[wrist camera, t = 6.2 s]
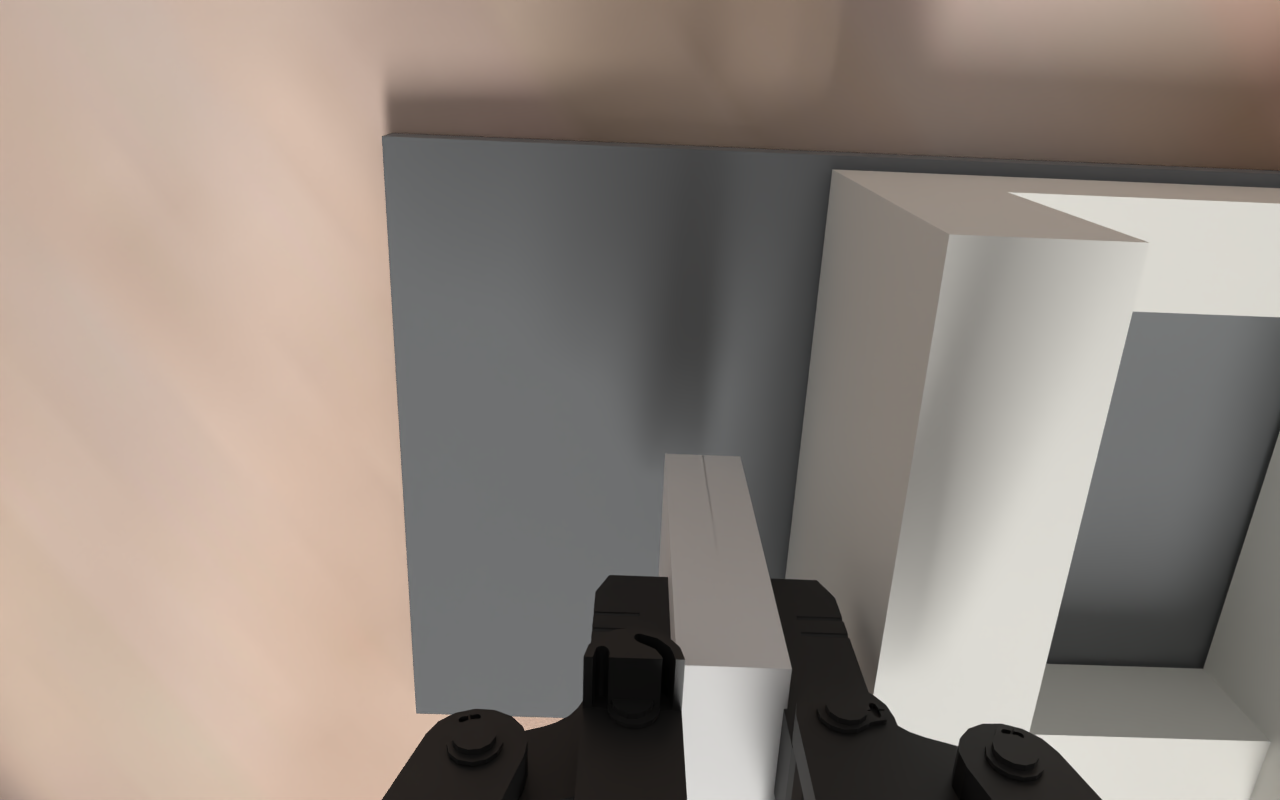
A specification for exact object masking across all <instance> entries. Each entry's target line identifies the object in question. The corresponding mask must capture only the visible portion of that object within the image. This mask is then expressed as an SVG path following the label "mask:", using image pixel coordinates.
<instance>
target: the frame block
mask: <svg viewBox="0 0 1280 800" xmlns="http://www.w3.org/2000/svg"><path fill="white" fill-rule="evenodd" d="M1133 312H1158V313H1183V314H1208V315H1234V316H1259V317H1280V188H1262V187H1239V186H1215V185H1191V184H1167V183H1144V182H1120V181H1096V180H1072V179H1049V178H1025V177H1001V176H977V175H954V174H930V173H906V172H882V171H859V170H835V169H832V177H831V185H830V194H829V203H828V211H827V220H826V229H825V237H824V246H823V255H822V263H821V272H820V281H819V289H818V298H817V307H816V315H815V324H814V333H813V341H812V350H811V359H810V367H809V376H808V385H807V393H806V402H805V411H804V419H803V428H802V437H801V445H800V454H799V463H798V471H797V480H796V489H795V497H794V506H793V515H792V523H791V532H790V541H789V549H788V558H787V567H786V575H785V579H800V580H817V581H818V582H819V583H820V584H821V585H822V586H823V587H824V588H825V589H826V590H828V591H829V592H830V593H831V594H832V595H833V596H834V597H835V599H836V602H837V604H838V607H839V610H840V613H841V616H842V621H843V622H844V624H845V627H846V630H847V633H848V638H850V641H851V644H852V647H853V649H854V652H855V655H856V658H857V661H858V664H859V666H860V669H861V672H862V675H863V678H864V680H865V683H866V686H867V689H868V692H869V693H871V694H873V695H874V696H875V697H877V698H878V699H879V700H881V701H882V702H883V703H884V704H886V705H887V707H888V708H889V710H890V711H891V713H892V714H893V716H894V717H895V720H896V723H897V725H898V726H900V727H901V728H903V729H905V730H907V731H909V732H911V733H914V734H917V735H920V736H923V737H926V738H930V739H933V740H937V741H941V742H945V743H948V744H952V745H956V746H958V744H959V739H960V738H961V736H962V735H963V734H964V733H965V732H966V731H967V729H969V728H971V727H974V726H977V725H980V724H1005V725H1009V726H1013V727H1017V728H1021V729H1024V730H1026V731H1028V732H1030V733H1032V734H1034V735H1036V736H1038V737H1040V738H1042V739H1043V740H1044V741H1046V742H1047V743H1048V744H1049V745H1050V746H1052V747H1053V748H1054V749H1055V750H1057V751H1058V752H1059V753H1060V754H1061V755H1062V756H1063V758H1064V759H1065V760H1066V761H1067V762H1068V763H1069V764H1070V765H1071V766H1072V767H1073V768H1074V770H1075V771H1076V772H1077V773H1078V774H1079V775H1080V776H1081V777H1082V778H1083V779H1084V780H1085V782H1086V783H1087V784H1088V785H1089V786H1090V787H1091V788H1092V789H1093V790H1094V791H1095V792H1096V793H1097V795H1098V796H1099V797H1100V798H1101V799H1102V800H1280V432H1279V435H1278V438H1277V441H1276V445H1275V448H1274V451H1273V454H1272V457H1271V460H1270V463H1269V466H1268V469H1267V472H1266V476H1265V479H1264V482H1263V485H1262V488H1261V491H1260V494H1259V497H1258V500H1257V503H1256V507H1255V510H1254V513H1253V516H1252V519H1251V522H1250V525H1249V528H1248V531H1247V534H1246V538H1245V541H1244V544H1243V547H1242V550H1241V553H1240V556H1239V559H1238V562H1237V565H1236V568H1235V572H1234V575H1233V578H1232V581H1231V584H1230V587H1229V590H1228V593H1227V596H1226V599H1225V603H1224V606H1223V609H1222V612H1221V615H1220V618H1219V621H1218V624H1217V627H1216V630H1215V634H1214V637H1213V640H1212V643H1211V646H1210V649H1209V652H1208V655H1207V658H1206V661H1205V665H1204V668H1203V669H1197V668H1165V667H1134V666H1102V665H1070V664H1046V662H1047V658H1048V654H1049V650H1050V646H1051V642H1052V638H1053V634H1054V630H1055V625H1056V621H1057V617H1058V613H1059V609H1060V605H1061V601H1062V597H1063V593H1064V589H1065V585H1066V581H1067V577H1068V573H1069V569H1070V565H1071V560H1072V556H1073V552H1074V548H1075V544H1076V540H1077V536H1078V532H1079V528H1080V524H1081V520H1082V516H1083V512H1084V508H1085V504H1086V500H1087V495H1088V491H1089V487H1090V483H1091V479H1092V475H1093V471H1094V467H1095V463H1096V459H1097V455H1098V451H1099V447H1100V443H1101V439H1102V435H1103V430H1104V426H1105V422H1106V418H1107V414H1108V410H1109V406H1110V402H1111V398H1112V394H1113V390H1114V386H1115V382H1116V378H1117V374H1118V370H1119V365H1120V361H1121V357H1122V353H1123V349H1124V345H1125V341H1126V337H1127V333H1128V329H1129V325H1130V321H1131V317H1132V313H1133Z"/></svg>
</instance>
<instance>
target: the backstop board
mask: <svg viewBox="0 0 1280 800" xmlns="http://www.w3.org/2000/svg"><path fill="white" fill-rule="evenodd" d="M382 146H383V163H384V179H385V196H386V213H387V230H388V246H389V263H390V280H391V297H392V314H393V330H394V347H395V364H396V381H397V397H398V414H399V431H400V448H401V465H402V481H403V498H404V515H405V532H406V548H407V565H408V582H409V599H410V616H411V632H412V649H413V666H414V683H415V699H416V713H420V714H454V713H457V712H461V711H466V710H471V709H489V710H497V711H499V712H502V713H505V714H507V715H510V716H520V717H553V718H566V717H568V716H569V715H570V714H571V713H572V712H574V711H575V710H576V709H577V708H578V707H579V705H580V704H581V702H582V701H583V658H584V654H585V652H586V649H587V647H588V645H589V644H590V643H591V635H592V624H593V615H594V602H595V592H596V590H597V589H598V588H599V587H600V585H601V584H602V583H603V582H604V581H605V579H606V578H607V577H608V576H609V575H626V576H655V577H659V560H660V542H661V523H662V504H663V485H664V467H665V454H689V455H716V456H740V458H741V462H742V466H743V470H744V474H745V478H746V482H747V486H748V490H749V495H750V499H751V503H752V507H753V511H754V515H755V519H756V523H757V527H758V532H759V536H760V540H761V544H762V548H763V552H764V556H765V560H766V564H767V569H768V573H769V577H770V578H772V579H785V575H786V567H787V558H788V549H789V541H790V532H791V523H792V515H793V506H794V497H795V489H796V480H797V471H798V463H799V454H800V445H801V437H802V428H803V419H804V411H805V402H806V393H807V385H808V376H809V367H810V359H811V350H812V341H813V333H814V324H815V315H816V307H817V298H818V289H819V281H820V272H821V263H822V255H823V246H824V237H825V229H826V220H827V211H828V203H829V194H830V185H831V177H832V169H835V170H859V171H882V172H906V173H930V174H954V175H977V176H1001V177H1025V178H1049V179H1072V180H1096V181H1120V182H1144V183H1167V184H1191V185H1215V186H1239V187H1262V188H1280V171H1273V170H1250V169H1226V168H1203V167H1179V166H1156V165H1132V164H1109V163H1085V162H1062V161H1038V160H1014V159H991V158H967V157H944V156H920V155H897V154H873V153H850V152H826V151H803V150H779V149H756V148H732V147H709V146H685V145H661V144H638V143H614V142H591V141H567V140H544V139H520V138H497V137H473V136H450V135H426V134H403V133H391V134H388V135H384V136H382ZM1279 432H1280V317H1259V316H1234V315H1208V314H1183V313H1158V312H1133V313H1132V317H1131V321H1130V325H1129V329H1128V333H1127V337H1126V341H1125V345H1124V349H1123V353H1122V357H1121V361H1120V365H1119V370H1118V374H1117V378H1116V382H1115V386H1114V390H1113V394H1112V398H1111V402H1110V406H1109V410H1108V414H1107V418H1106V422H1105V426H1104V430H1103V435H1102V439H1101V443H1100V447H1099V451H1098V455H1097V459H1096V463H1095V467H1094V471H1093V475H1092V479H1091V483H1090V487H1089V491H1088V495H1087V500H1086V504H1085V508H1084V512H1083V516H1082V520H1081V524H1080V528H1079V532H1078V536H1077V540H1076V544H1075V548H1074V552H1073V556H1072V560H1071V565H1070V569H1069V573H1068V577H1067V581H1066V585H1065V589H1064V593H1063V597H1062V601H1061V605H1060V609H1059V613H1058V617H1057V621H1056V625H1055V630H1054V634H1053V638H1052V642H1051V646H1050V650H1049V654H1048V658H1047V662H1046V664H1070V665H1102V666H1134V667H1165V668H1197V669H1203V668H1204V665H1205V661H1206V658H1207V655H1208V652H1209V649H1210V646H1211V643H1212V640H1213V637H1214V634H1215V630H1216V627H1217V624H1218V621H1219V618H1220V615H1221V612H1222V609H1223V606H1224V603H1225V599H1226V596H1227V593H1228V590H1229V587H1230V584H1231V581H1232V578H1233V575H1234V572H1235V568H1236V565H1237V562H1238V559H1239V556H1240V553H1241V550H1242V547H1243V544H1244V541H1245V538H1246V534H1247V531H1248V528H1249V525H1250V522H1251V519H1252V516H1253V513H1254V510H1255V507H1256V503H1257V500H1258V497H1259V494H1260V491H1261V488H1262V485H1263V482H1264V479H1265V476H1266V472H1267V469H1268V466H1269V463H1270V460H1271V457H1272V454H1273V451H1274V448H1275V445H1276V441H1277V438H1278V435H1279Z"/></svg>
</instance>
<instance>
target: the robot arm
mask: <svg viewBox="0 0 1280 800" xmlns="http://www.w3.org/2000/svg"><path fill="white" fill-rule="evenodd" d="M382 800H1102V799H1101V798H1100V797H1099V796H1098V795H1097V793H1096V792H1095V791H1094V790H1093V789H1092V788H1091V787H1090V786H1089V785H1088V784H1087V783H1086V782H1085V780H1084V779H1083V778H1082V777H1081V776H1080V775H1079V774H1078V773H1077V772H1076V771H1075V770H1074V768H1073V767H1072V766H1071V765H1070V764H1069V763H1068V762H1067V761H1066V760H1065V759H1064V758H1063V756H1062V755H1061V754H1060V753H1059V752H1058V751H1057V750H1055V749H1054V748H1053V747H1052V746H1050V745H1049V744H1048V743H1047V742H1046V741H1044V740H1043V739H1042V738H1040V737H1038V736H1036V735H1034V734H1032V733H1030V732H1028V731H1026V730H1024V729H1021V728H1017V727H1013V726H1009V725H1005V724H980V725H977V726H974V727H971V728H969V729H967V731H966V732H965V733H964V734H963V735H962V736H961V738H960V739H959V744H958V746H956V745H952V744H948V743H945V742H941V741H937V740H933V739H930V738H926V737H923V736H920V735H917V734H914V733H911V732H909V731H907V730H905V729H903V728H901V727H900V726H898V725H897V723H896V720H895V717H894V716H893V714H892V713H891V711H890V710H889V708H888V707H887V705H886V704H884V703H883V702H882V701H881V700H879V699H878V698H877V697H875V696H874V695H873V694H871V693H869V692H868V689H867V686H866V683H865V680H864V678H863V675H862V672H861V669H860V666H859V664H858V661H857V658H856V655H855V652H854V649H853V647H852V644H851V641H850V638H848V633H847V630H846V627H845V624H844V622H843V621H842V616H841V613H840V610H839V607H838V604H837V602H836V599H835V597H834V596H833V595H832V594H831V593H830V592H829V591H828V590H826V589H825V588H824V587H823V586H822V585H821V584H820V583H819V582H818V581H817V580H800V579H772V578H770V577H769V573H768V569H767V564H766V560H765V556H764V552H763V548H762V544H761V540H760V536H759V532H758V527H757V523H756V519H755V515H754V511H753V507H752V503H751V499H750V495H749V490H748V486H747V482H746V478H745V474H744V470H743V466H742V462H741V458H740V456H716V455H689V454H665V467H664V485H663V504H662V523H661V542H660V560H659V577H655V576H626V575H609V576H608V577H607V578H606V579H605V581H604V582H603V583H602V584H601V585H600V587H599V588H598V589H597V590H596V592H595V602H594V615H593V624H592V635H591V643H590V644H589V645H588V647H587V649H586V652H585V654H584V658H583V701H582V702H581V704H580V705H579V707H578V708H577V709H576V710H575V711H574V712H572V713H571V714H570V715H569V716H568V717H566V718H564V719H562V720H560V721H558V722H556V723H553V724H550V725H547V726H544V727H540V728H535V729H531V730H526V731H524V728H523V726H522V725H521V724H519V723H518V722H517V721H516V720H515V719H514V718H513V717H512V716H510V715H507V714H505V713H502V712H499V711H497V710H489V709H471V710H466V711H461V712H457V713H454V714H452V715H450V716H448V717H446V718H444V719H442V720H440V721H438V722H437V723H436V724H435V725H434V726H433V727H432V728H431V729H430V730H429V731H428V732H427V733H426V735H425V736H424V738H423V739H422V741H421V742H420V744H419V745H418V747H417V748H416V750H415V751H414V753H413V754H412V756H411V757H410V759H409V760H408V762H407V763H406V765H405V766H404V767H403V769H402V770H401V772H400V773H399V775H398V776H397V778H396V779H395V781H394V782H393V784H392V785H391V787H390V788H389V790H388V791H387V793H386V794H385V796H384V797H383V799H382Z"/></svg>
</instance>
